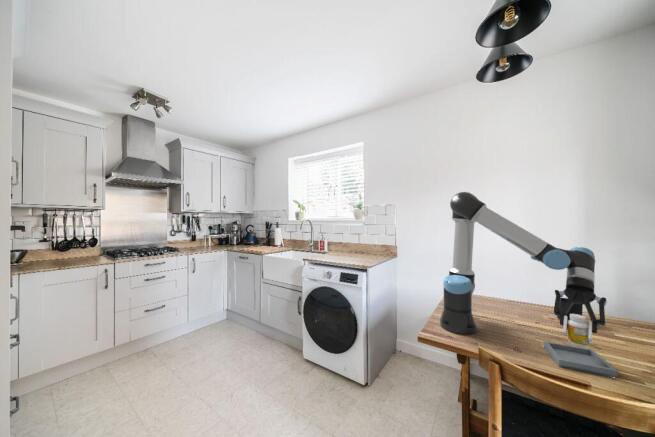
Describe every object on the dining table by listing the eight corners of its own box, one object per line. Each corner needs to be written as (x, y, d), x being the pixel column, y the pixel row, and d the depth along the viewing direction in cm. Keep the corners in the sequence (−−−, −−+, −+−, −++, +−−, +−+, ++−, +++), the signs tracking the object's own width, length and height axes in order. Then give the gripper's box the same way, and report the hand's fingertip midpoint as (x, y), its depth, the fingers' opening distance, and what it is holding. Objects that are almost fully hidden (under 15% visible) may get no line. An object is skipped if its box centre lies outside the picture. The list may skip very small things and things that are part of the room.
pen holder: (587, 322, 116) (586, 302, 116) (576, 326, 113) (576, 305, 113) (562, 315, 125) (562, 296, 125) (552, 318, 121) (551, 299, 121)
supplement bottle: (566, 337, 88) (565, 311, 88) (587, 342, 85) (587, 315, 85) (568, 343, 84) (568, 316, 84) (591, 348, 81) (590, 320, 81)
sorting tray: (559, 366, 81) (559, 359, 81) (543, 347, 94) (543, 340, 94) (617, 378, 75) (617, 371, 75) (592, 356, 88) (592, 349, 88)
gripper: (617, 292, 87) (619, 353, 77) (549, 282, 101) (543, 332, 91) (616, 280, 84) (619, 342, 73) (547, 272, 98) (540, 323, 87)
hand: (577, 337), depth 82 cm, fingers closed on supplement bottle, 5 cm apart
